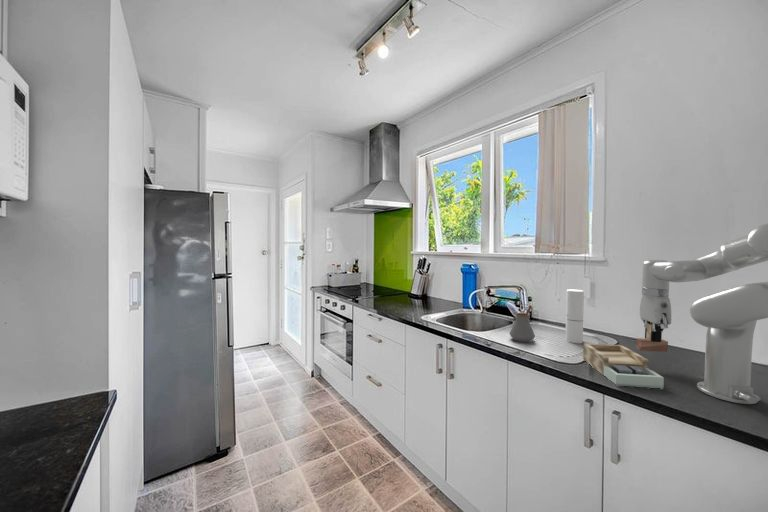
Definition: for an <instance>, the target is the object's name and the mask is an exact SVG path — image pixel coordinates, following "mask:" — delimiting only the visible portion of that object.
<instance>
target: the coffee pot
mask: <svg viewBox="0 0 768 512" xmlns="http://www.w3.org/2000/svg"><path fill="white" fill-rule="evenodd" d="M531 309H532V310H533V309H534V306H532V305H529V306H528V308H527V309H526V312H525V313H524V312H523V313H522V312H516V313H515V316H516V319H515V321H514V323H513V325H512V327H511V328H510V332H509V335H510V337H511V338H512V339H513V340H514V341H516V342H519V343H530V342H532V341H533V340H534V339H535V337H536V334H535V331H534V330H533V327H532V326H531V323H530V320H529V318H530V314H529V313H530V311H531Z"/></svg>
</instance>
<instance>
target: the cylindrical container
mask: <svg viewBox="0 0 768 512" xmlns="http://www.w3.org/2000/svg"><path fill="white" fill-rule="evenodd" d="M584 291H585V290H582V289H573V288H572V289H571V288H569V289H566V295H565V296H566V297H565V341H566V342H569V343H572V344H584V339H583V338H584V299H585V298H584V294H585V292H584Z"/></svg>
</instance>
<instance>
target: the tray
mask: <svg viewBox="0 0 768 512" xmlns="http://www.w3.org/2000/svg"><path fill="white" fill-rule="evenodd" d="M645 369H646V370H648V371H650V375H637V374H620V373H617V372H615V371H614V370H613V369H611V368H610V367H609V366H604V376H606V377H607V378H608V379H609V380H611V381H612V382H614V383H615V384H616V385H624V386H636V387H650V388H660V389H659V390H664V381H665V379H664V377H663V376H662V375H660V374H659V373H658V372H656V371H654V370H652V369H650V368H649V367H648V368H645ZM604 376H603V377H604ZM609 380H608V381H609ZM650 388H649V389H650Z"/></svg>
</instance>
